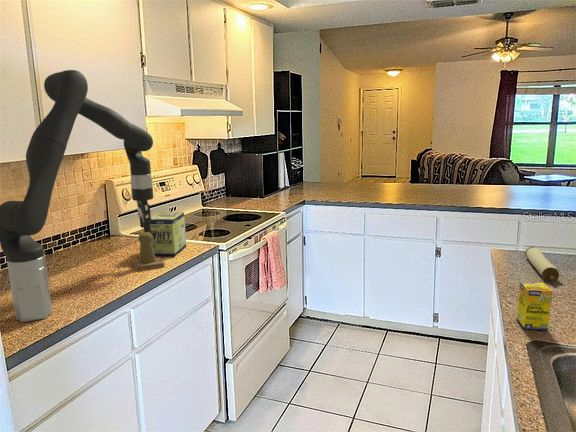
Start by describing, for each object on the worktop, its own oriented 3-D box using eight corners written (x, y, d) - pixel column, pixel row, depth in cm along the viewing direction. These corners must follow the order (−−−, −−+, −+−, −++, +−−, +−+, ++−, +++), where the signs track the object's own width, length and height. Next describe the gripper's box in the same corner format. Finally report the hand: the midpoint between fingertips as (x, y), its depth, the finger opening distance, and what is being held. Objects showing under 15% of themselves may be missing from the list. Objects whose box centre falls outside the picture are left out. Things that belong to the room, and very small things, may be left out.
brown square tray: (164, 267, 171) (164, 262, 170) (136, 271, 166) (136, 267, 166) (159, 260, 179) (159, 256, 179) (133, 264, 175) (132, 259, 175)
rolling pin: (522, 256, 176) (523, 243, 175) (538, 257, 174) (539, 244, 173) (543, 285, 146) (544, 270, 144) (562, 287, 144) (564, 272, 143)
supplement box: (523, 330, 115) (527, 289, 113) (515, 320, 121) (519, 281, 119) (548, 331, 114) (553, 290, 112) (539, 321, 120) (543, 282, 118)
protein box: (150, 257, 184) (147, 219, 180) (163, 246, 199) (160, 211, 195) (175, 257, 183) (172, 219, 179) (186, 246, 198) (184, 211, 195)
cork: (151, 264, 169) (149, 235, 167) (136, 263, 170) (133, 235, 168) (158, 259, 175) (156, 231, 173) (144, 258, 176) (141, 231, 174)
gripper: (128, 185, 171) (132, 227, 174) (134, 189, 159) (137, 234, 162) (149, 183, 174) (152, 224, 178) (155, 188, 162) (159, 232, 165)
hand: (145, 229), depth 170 cm, fingers open, 8 cm apart
